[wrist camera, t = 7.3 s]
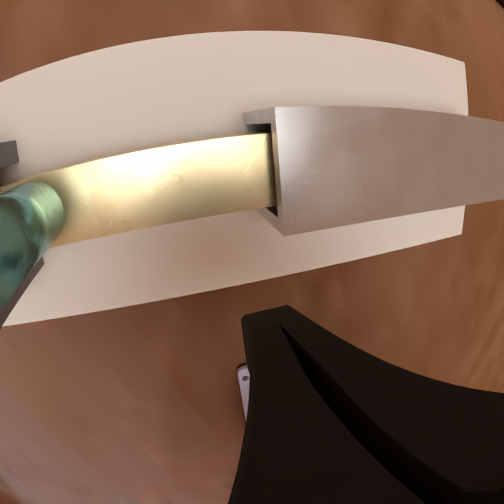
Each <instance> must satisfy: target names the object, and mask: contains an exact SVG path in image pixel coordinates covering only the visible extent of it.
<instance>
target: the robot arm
mask: <svg viewBox="0 0 504 504" xmlns="http://www.w3.org/2000/svg"><path fill="white" fill-rule="evenodd" d="M241 324H242V331H243V339H244V347H245V354H246V361H247V365H244V366H241V367H240V368H238V370H237V375H238V380H239V386H240V392H241V398H242V403H243V409H244V414H245V420H246V426H245V433H244V438H243V444H242V449H241V455H240V460H239V464H238V469H237V473H236V477H235V480H234V484H233V488H232V491H231V495H230V498H229V502H228V504H504V393H498V392H490V391H484V390H477V389H471V388H467V387H462V386H457V385H453V384H449V383H446V382H442V381H438V380H435V379H431V378H428V377H425V376H422V375H419V374H416V373H413V372H410V371H408V370H405V369H403V368H400V367H398V366H395V365H392V364H390V363H388V362H386V361H383V360H381V359H379V358H377V357H375V356H373V355H371V354H369V353H367V352H365V351H363V350H361V349H359V348H357V347H355V346H353V345H351V344H350V343H348V342H346V341H344V340H342V339H341V338H339V337H337V336H336V335H334V334H332V333H331V332H329V331H327V330H326V329H324V328H323V327H321V326H319V325H318V324H316V323H315V322H313V321H312V320H310V319H308V318H307V317H305V316H304V315H302V314H301V313H299V312H298V311H296V310H295V309H293V308H292V307H290V306H288V305H285V306H281V307H277V308H273V309H268V310H264V311H260V312H255V313H251V314H246V315H244V316H243V317H242V319H241ZM244 376H247V377H244Z"/></svg>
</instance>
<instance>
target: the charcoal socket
mask: <svg viewBox="0 0 504 504" xmlns="http://www.w3.org/2000/svg"><path fill="white" fill-rule="evenodd" d="M18 162H19V157H18V151H17V144H16V140H14V141H7V142H1V143H0V169H1V168H3V167H6V166H9V165H12V164H15V163H18ZM43 265H44V261H43V258H42V257H41V258H40V259H39V261H38V262H37V263H36V264H35V266H34V267H33V268H32V270H31V271H30V272H29V273H28V275H27V276H26V277H25V279H24V280H23V281H22V283H21V284H20V285H19V287H18V288H17V289H16V291H15V292H14V294H13V295H12V296H11V298H10V299H9V301H8V302H7V303H6V304H4V305H3V306H2V307H0V329H1V327H2V326H3V324H4V322H5V321H6V319H7V318H8V316H9V315H10V313H11V311H12V310H13V308H14V307H15V305H16V304H17V302H18V301H19V299H20V298H21V296H22V295H23V293H24V292H25V290H26V289H27V288H28V286H29V285H30V283H31V282H32V280H33V279H34V278H35V276H36V275H37V273H38V272H39V271H40V269H41V268H42V267H43Z"/></svg>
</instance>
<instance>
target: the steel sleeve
mask: <svg viewBox="0 0 504 504" xmlns="http://www.w3.org/2000/svg"><path fill="white" fill-rule="evenodd" d="M243 121H244V131H245V132H254V131H266V130H271V131H272V143H273V155H274V168H275V181H276V195H277V206H271V207H265V208H258V209H255V210H256V211H257V212H258V213H259V214H260V215H261V216H263V217H264V218H265V219H266V220H267V221H268V222H269V223H270V224H271V225H272V226H273V227H274V228H275V229H276V230H278V231H279V232H280V233H281V234H282V235H283V236H290V235H295V234H301V233H307V232H312V231H318V230H324V229H329V228H335V227H341V226H346V225H352V224H358V223H364V222H369V221H375V220H381V219H387V218H393V217H398V216H404V215H410V214H416V213H422V212H428V211H434V210H440V209H446V208H452V207H458V206H464V205H470V204H476V203H482V202H488V201H494V200H501V199H504V122H500V121H495V120H489V119H484V118H478V117H472V116H465V115H458V114H451V113H443V112H434V111H425V110H415V109H402V108H388V107H367V106H293V107H274V108H267V109H261V110H255V111H249V112H244V113H243Z"/></svg>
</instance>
